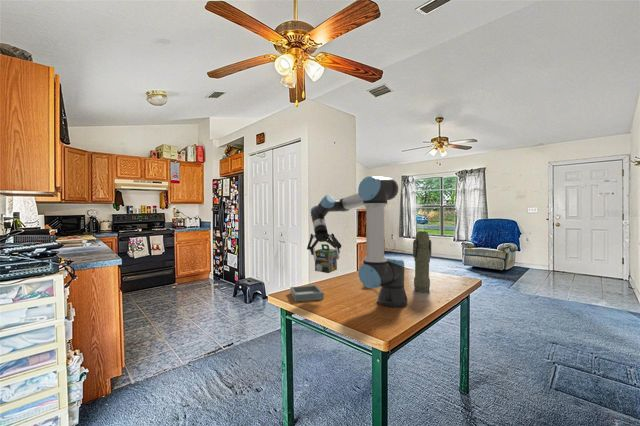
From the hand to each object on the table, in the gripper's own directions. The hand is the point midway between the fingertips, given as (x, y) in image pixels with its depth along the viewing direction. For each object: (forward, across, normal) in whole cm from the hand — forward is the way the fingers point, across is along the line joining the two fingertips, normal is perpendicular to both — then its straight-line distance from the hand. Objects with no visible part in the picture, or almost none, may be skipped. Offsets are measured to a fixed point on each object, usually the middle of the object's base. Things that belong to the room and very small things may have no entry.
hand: (327, 258), depth 158 cm
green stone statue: (+15, -59, -15) cm, 63 cm away
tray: (+11, +10, -20) cm, 25 cm away
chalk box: (+3, 0, -7) cm, 8 cm away
